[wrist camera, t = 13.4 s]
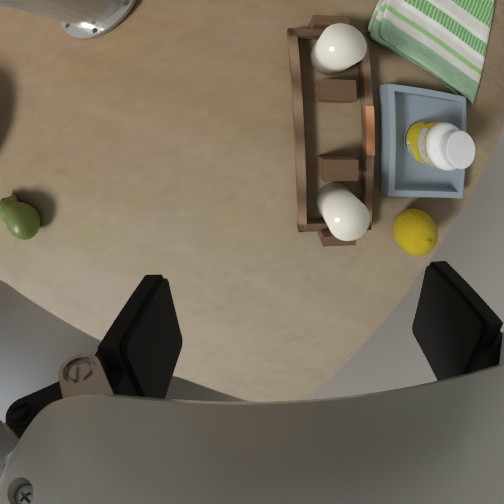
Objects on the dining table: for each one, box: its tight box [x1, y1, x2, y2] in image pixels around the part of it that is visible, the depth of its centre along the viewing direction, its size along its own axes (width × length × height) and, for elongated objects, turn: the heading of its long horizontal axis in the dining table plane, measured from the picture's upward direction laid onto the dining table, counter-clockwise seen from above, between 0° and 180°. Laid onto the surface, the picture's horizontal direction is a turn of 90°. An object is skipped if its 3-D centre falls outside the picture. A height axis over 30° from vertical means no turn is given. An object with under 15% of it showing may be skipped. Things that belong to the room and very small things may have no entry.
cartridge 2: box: [316, 183, 370, 241], centre depth 34 cm, size 4×4×8 cm
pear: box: [0, 195, 40, 240], centre depth 38 cm, size 6×5×10 cm
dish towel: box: [368, 0, 494, 105], centre depth 23 cm, size 18×23×3 cm
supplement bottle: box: [404, 121, 475, 171], centre depth 28 cm, size 5×5×10 cm
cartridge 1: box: [310, 23, 367, 75], centre depth 26 cm, size 4×4×8 cm
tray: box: [379, 84, 466, 198], centre depth 32 cm, size 14×12×3 cm
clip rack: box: [287, 15, 375, 246], centre depth 32 cm, size 27×9×4 cm, turn 4°
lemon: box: [393, 208, 438, 256], centre depth 34 cm, size 6×6×8 cm
